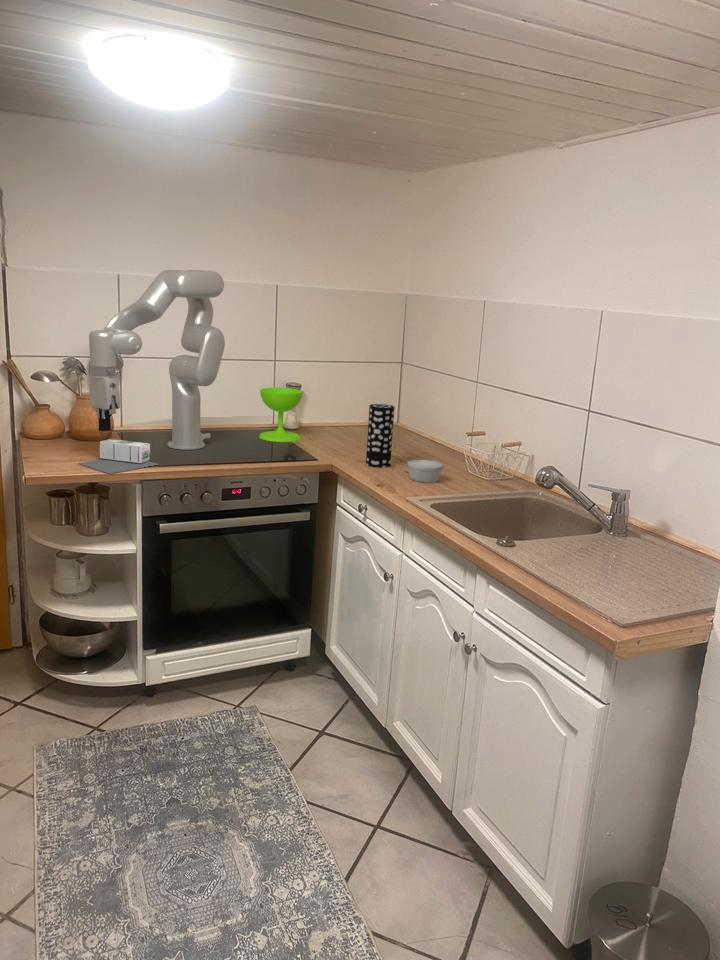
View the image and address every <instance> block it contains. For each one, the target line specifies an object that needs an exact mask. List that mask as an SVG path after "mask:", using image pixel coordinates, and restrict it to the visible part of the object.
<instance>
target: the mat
mask: <svg viewBox="0 0 720 960" xmlns="http://www.w3.org/2000/svg"><path fill="white" fill-rule="evenodd" d="M79 464H80V466H83V467H86V468H89V469H91V470H92V469H93V470H95V471H98V472H102V473H104V474H108V475H112V474H119V473H125V472H130V471H135V470H141V469H145V468H144V467H147V468H149V467H148V466H152V467H155V466H154V465H158V466H160V464H159V463H156V462H153V461H150V460H149V461H146V462H143V463H134V462H125V461H117V460H109V459H102V458H100V459H96V460H90V461H83V462H79V463H78V465H79ZM140 468H141V469H140Z"/></svg>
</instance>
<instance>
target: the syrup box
mask: <svg viewBox="0 0 720 960" xmlns="http://www.w3.org/2000/svg"><path fill="white" fill-rule="evenodd" d="M99 458H100V459H109V460H117V461H125V462H134V463H143V462H146V461H150V460H151V443H147V442H139V441H131V440H130V441H129V440H121V439H114V438H107V439H105V440H104V439H103V440H100V441H99Z"/></svg>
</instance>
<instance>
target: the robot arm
mask: <svg viewBox="0 0 720 960" xmlns="http://www.w3.org/2000/svg"><path fill="white" fill-rule="evenodd" d="M150 283H151V284H149V286H148V287H147V289H146V290H145V291H144V292H143V293H142V295H141V296H140V297H139V298H138V299H137V300H136V301H134V302H133V303H131V304H129V305H128V306H127V307H125V308H123V309H122V310H121V311H119V312H118V313H116V314H115V315H114V316H113V317H112V318H111V319H110V320H109V322H108V323H107V324H106V326H105V327H104V328H103V330H98V329H96V330H92V331H90V332H89V335H88V341H89V343H88V344H89V345H88V347H89V372H90V373H89V374H90V375H89V376H90V378H89V392H88V393H89V395H88V396H89V404H90V406H91V407H92V410H93V411H95V412H96V416H97V419H98V431H99V432H109V431H111V430H112V429H111V428H112V427H111V425H112V423H111V421H112V420H111V419H112V417H113V416H112V415H116V414H117V410H119V409H120V408H121V395H120V394H121V393H120V386H119V380H118V377H117V357H116V355H124V356H134V355H136V354H138V353H139V352H140V350H141V349H142V346H143V340H142V337H141V336H140V334H138V333H137V332H135V331H133V330H135V329H136V328H138V327H140V326H143V325H146V324H150V323H153V322H155V321H157V320H159V319H160V318H161V317H162V316H163V315H164V314H165V312H166V311H167V310H168V309H169V307H170V306H171V305H172V303H173V302H174V301H175V299H177V298H184V299H186V300H187V306H188V310H187V314H186V318H185V322H184V327H183V329H182V334H181V337H180V343H181V346H182V348H183V349H184V350H185V351H187V352H190V353H195V354H198V356H195V355H190V354H181V355H180V354H179V355H177V356H175V357H173V358H172V360H171V361H170V362H169V367H168V374H169V378H170V383H171V395H172V397H171V401H172V402H171V411H172V412H171V417H172V418H171V421H172V422H171V428H172V429H171V430H172V431H171V434H172V435H171V439H172V440H169V441H168V442H167V447H168V448H171V449H174V450H184V451H185V450H186V451H187V450H188V451H190V450H199V449H203V448H204V447H205V442H204V441H205V440H207V439H211V433H210V432H205V433H203V432H201V402H202V401H201V392H200V388H199V387H209V386H211V385H212V384H214V383H215V380H216V378H217V376H218V373H219V370H220V366H221V363H222V358H223V355H224V351H225V346H226V345H225V342H226V341H225V336H224V333H223V332H222V331H221V329H219V328H218V327H216V326H212V325H213V324H212V322H213V318H214V307H213V304H212V301H211V299H212V298H217V297H220V295H221V294H222V292H223V291H224V289H225V281H224V279H223V277H222V276H221V274H220V273H219V272H217V271H214V270H200V269H188V270H180V269H164V270H162V271H161V272H160V273H159V274H158V275H157V276H156V277H155V278H154V280H153V281H152V282H150Z"/></svg>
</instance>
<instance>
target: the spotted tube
mask: <svg viewBox="0 0 720 960" xmlns="http://www.w3.org/2000/svg"><path fill="white" fill-rule="evenodd" d="M368 410H369V411H368V424H367V440H366V442H367V443H366V453H365V455H366V457H365V465H366V466H367V467H371V468H378V469H380V468H381V469H383V468H384V469H385V468H390V467H391V459H392V447H393V436H394V435H393V434H394V419H395V406H394V405H392V404H391V405H390V404H382V403H373V404H369V409H368Z"/></svg>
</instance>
